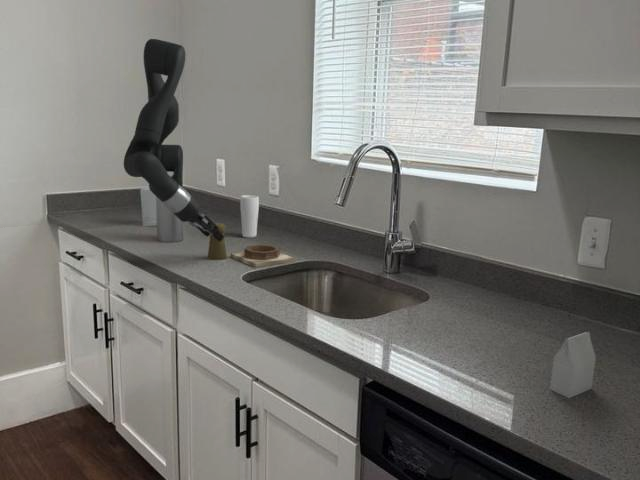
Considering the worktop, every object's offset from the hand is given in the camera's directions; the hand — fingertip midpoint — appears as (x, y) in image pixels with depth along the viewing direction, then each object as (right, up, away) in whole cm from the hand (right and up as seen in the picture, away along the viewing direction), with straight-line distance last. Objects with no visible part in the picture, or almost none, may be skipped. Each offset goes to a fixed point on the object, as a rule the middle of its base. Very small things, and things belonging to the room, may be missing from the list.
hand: (215, 236), depth 181 cm
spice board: (+14, -7, +2) cm, 16 cm away
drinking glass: (+6, 0, +34) cm, 35 cm away
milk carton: (+77, -27, -79) cm, 114 cm away
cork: (0, -7, +2) cm, 7 cm away
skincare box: (-34, +5, +49) cm, 60 cm away
